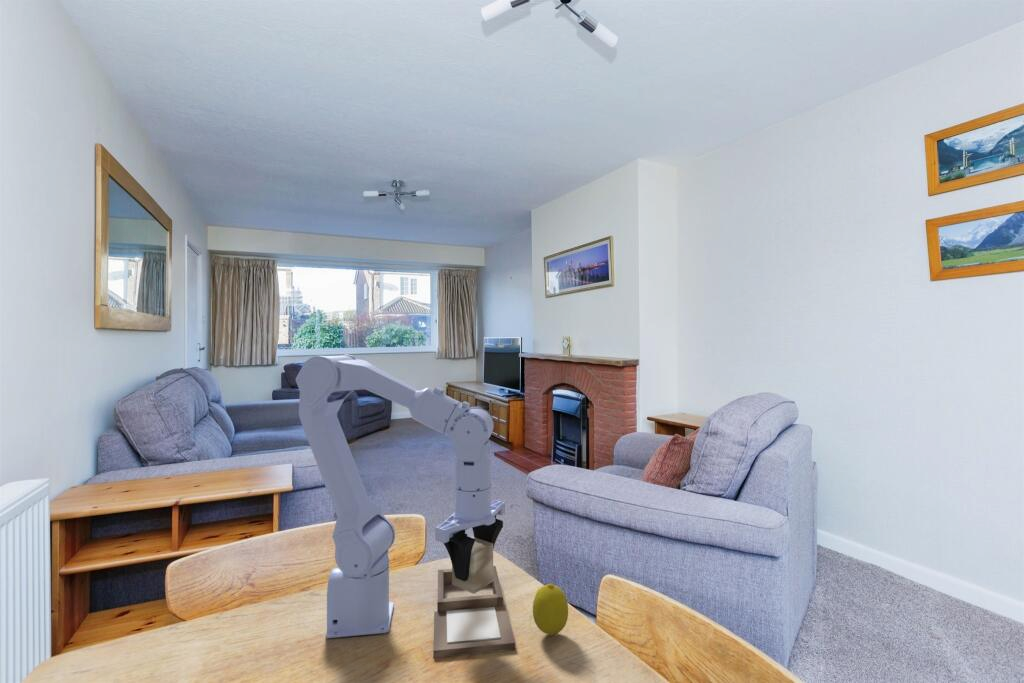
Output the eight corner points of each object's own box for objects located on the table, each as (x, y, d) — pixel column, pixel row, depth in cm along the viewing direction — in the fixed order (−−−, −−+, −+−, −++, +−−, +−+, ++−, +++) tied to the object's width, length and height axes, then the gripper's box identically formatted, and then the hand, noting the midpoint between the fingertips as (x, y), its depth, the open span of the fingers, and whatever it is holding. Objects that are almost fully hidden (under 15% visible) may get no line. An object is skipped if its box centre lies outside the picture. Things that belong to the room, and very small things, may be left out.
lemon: (570, 647, 69) (570, 593, 69) (533, 646, 69) (533, 593, 69) (566, 624, 75) (566, 575, 75) (532, 624, 75) (532, 574, 75)
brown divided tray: (433, 657, 67) (433, 640, 67) (435, 583, 87) (435, 570, 87) (515, 649, 68) (515, 632, 68) (498, 578, 89) (498, 565, 89)
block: (474, 593, 70) (474, 554, 70) (451, 584, 72) (452, 546, 72) (493, 581, 73) (493, 543, 73) (471, 572, 76) (471, 536, 76)
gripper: (460, 504, 65) (459, 600, 65) (519, 479, 76) (519, 561, 76) (425, 494, 69) (425, 585, 69) (486, 472, 81) (486, 550, 80)
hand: (472, 571), depth 73 cm, fingers closed on block, 5 cm apart
